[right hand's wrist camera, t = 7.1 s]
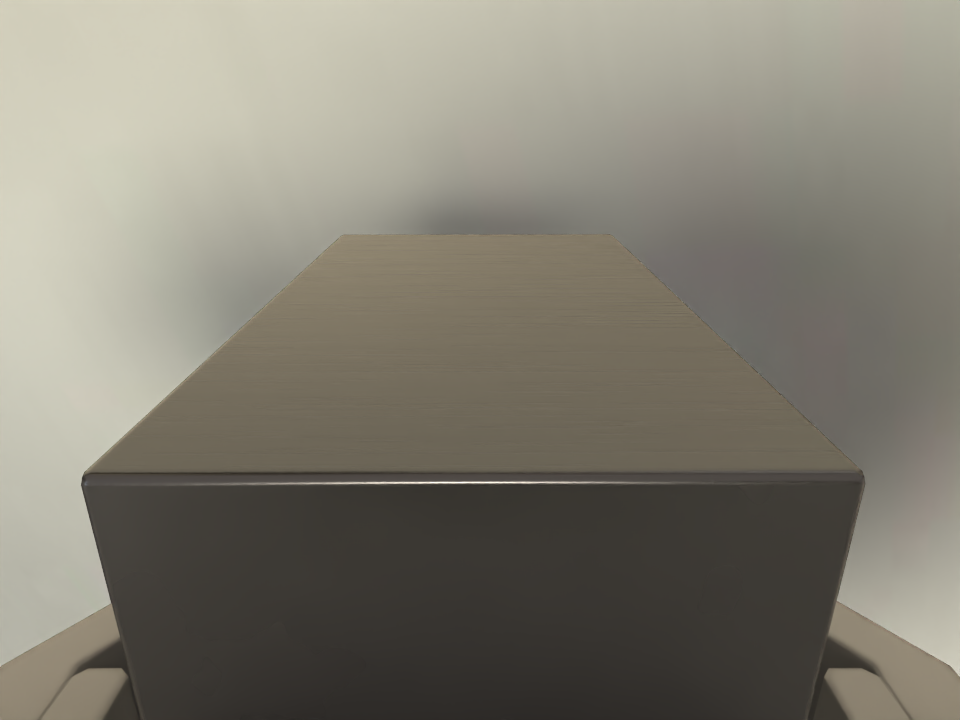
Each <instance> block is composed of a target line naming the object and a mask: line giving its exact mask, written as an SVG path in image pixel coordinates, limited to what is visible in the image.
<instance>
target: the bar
mask: <svg viewBox="0 0 960 720" xmlns="http://www.w3.org/2000/svg"><path fill="white" fill-rule="evenodd" d="M81 486H82V490H83V494H84V498H85V502H86V506H87V510H88V514H89V518H90V522H91V526H92V529H93V533H94V537H95V541H96V545H97V549H98V553H99V557H100V561H101V565H102V568H103V572H104V576H105V580H106V584H107V588H108V592H109V596H110V600H111V604H112V608H113V611H114V615H115V619H116V623H117V627H118V631H119V635H120V639H121V643H122V647H123V650H124V654H125V658H126V662H127V666H128V670H129V674H130V678H131V682H132V686H133V690H134V693H135V697H136V701H137V705H138V709H139V713H140V717H141V720H807V719H808V715H809V711H810V707H811V703H812V699H813V694H814V690H815V686H816V682H817V678H818V674H819V670H820V666H821V662H822V658H823V654H824V650H825V646H826V641H827V637H828V633H829V629H830V625H831V621H832V617H833V613H834V609H835V605H836V601H837V597H838V593H839V589H840V584H841V580H842V576H843V572H844V568H845V564H846V560H847V556H848V552H849V548H850V544H851V540H852V536H853V531H854V527H855V523H856V519H857V515H858V511H859V507H860V503H861V499H862V495H863V491H864V487H865V479H864V475H863V472H862V471H861V470H860V469H859V468H858V467H857V466H856V465H855V464H854V463H853V462H852V461H851V460H850V459H849V458H848V457H847V456H846V455H844V454H843V453H842V452H841V451H840V450H839V449H838V448H837V447H836V446H835V445H834V444H833V443H832V442H831V441H830V440H829V439H828V438H826V437H825V436H824V435H823V434H822V433H821V432H820V431H819V430H818V429H817V428H816V427H815V426H814V425H813V424H812V423H811V422H810V421H808V420H807V419H806V418H805V417H804V416H803V415H802V414H801V413H800V412H799V411H798V410H797V409H796V408H795V407H794V406H793V405H791V404H790V403H789V402H788V401H787V400H786V399H785V398H784V397H783V396H782V395H781V394H780V393H779V392H778V391H777V390H776V389H775V388H773V387H772V386H771V385H770V384H769V383H768V382H767V381H766V380H765V379H764V378H763V377H762V376H761V375H760V374H759V373H758V372H757V371H755V370H754V369H753V368H752V367H751V366H750V365H749V364H748V363H747V362H746V361H745V360H744V359H743V358H742V357H741V356H740V355H739V354H737V353H736V352H735V351H734V350H733V349H732V348H731V347H730V346H729V345H728V344H727V343H726V342H725V341H724V340H723V339H722V338H720V337H719V336H718V335H717V334H716V333H715V332H714V331H713V330H712V329H711V328H710V327H709V326H708V325H707V324H706V323H705V322H704V321H702V320H701V319H700V318H699V317H698V316H697V315H696V314H695V313H694V312H693V311H692V310H691V309H690V308H689V307H688V306H687V305H686V304H684V303H683V302H682V301H681V300H680V299H679V298H678V297H677V296H676V295H675V294H674V293H673V292H672V291H671V290H670V289H669V288H667V287H666V286H665V285H664V284H663V283H662V282H661V281H660V280H659V279H658V278H657V277H656V276H655V275H654V274H653V273H652V272H651V271H649V270H648V269H647V268H646V267H645V266H644V265H643V264H642V263H641V262H640V261H639V260H638V259H637V258H636V257H635V256H634V255H633V254H631V253H630V252H629V251H628V250H627V249H626V248H625V247H624V246H623V245H622V244H621V243H620V242H619V241H618V240H617V239H616V238H615V237H613V236H612V235H610V234H565V235H342V236H341V237H339V238H338V239H337V240H336V241H335V242H334V243H333V244H332V245H331V246H330V247H329V248H328V249H326V250H325V251H324V252H323V253H322V254H321V255H320V256H319V257H318V258H317V259H316V260H314V261H313V262H312V263H311V264H310V265H309V266H308V267H307V268H306V269H305V270H304V271H303V272H301V273H300V274H299V275H298V276H297V277H296V278H295V279H294V280H293V281H292V282H291V283H289V284H288V285H287V286H286V287H285V288H284V289H283V290H282V291H281V292H280V293H279V294H278V295H276V296H275V297H274V298H273V299H272V300H271V301H270V302H269V303H268V304H267V305H266V306H265V307H263V308H262V309H261V310H260V311H259V312H258V313H257V314H256V315H255V316H254V317H253V318H251V319H250V320H249V321H248V322H247V323H246V324H245V325H244V326H243V327H242V328H241V329H240V330H238V331H237V332H236V333H235V334H234V335H233V336H232V337H231V338H230V339H229V340H228V341H226V342H225V343H224V344H223V345H222V346H221V347H220V348H219V349H218V350H217V351H216V352H215V353H213V354H212V355H211V356H210V357H209V358H208V359H207V360H206V361H205V362H204V363H203V364H202V365H200V366H199V367H198V368H197V369H196V370H195V371H194V372H193V373H192V374H191V375H190V376H188V377H187V378H186V379H185V380H184V381H183V382H182V383H181V384H180V385H179V386H178V387H177V388H175V389H174V390H173V391H172V392H171V393H170V394H169V395H168V396H167V397H166V398H165V399H164V400H162V401H161V402H160V403H159V404H158V405H157V406H156V407H155V408H154V409H153V410H152V411H150V412H149V413H148V414H147V415H146V416H145V417H144V418H143V419H142V420H141V421H140V422H139V423H137V424H136V425H135V426H134V427H133V428H132V429H131V430H130V431H129V432H128V433H127V434H125V435H124V436H123V437H122V438H121V439H120V440H119V441H118V442H117V443H116V444H115V445H114V446H112V447H111V448H110V449H109V450H108V451H107V452H106V453H105V454H104V455H103V456H102V457H101V458H99V459H98V460H97V461H96V462H95V463H94V464H93V465H92V466H91V467H90V468H89V469H87V470H86V471H85V472H84V475H83V477H82V483H81Z"/></svg>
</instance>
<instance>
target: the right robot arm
mask: <svg viewBox="0 0 960 720" xmlns="http://www.w3.org/2000/svg"><path fill="white" fill-rule="evenodd" d="M0 720H141V717H140V713H139V709H138V705H137V701H136V697H135V693H134V690H133V686H132V682H131V678H130V674H129V670H128V666H127V662H126V658H125V654H124V650H123V647H122V643H121V639H120V635H119V631H118V627H117V623H116V619H115V615H114V611H113V608H112V604H110V605H108V606H106V607H104V608H103V609H101V610H99V611H97V612H96V613H94V614H92V615H90V616H89V617H87V618H85V619H83V620H81V621H80V622H78V623H76V624H74V625H73V626H71V627H69V628H67V629H66V630H64V631H62V632H60V633H59V634H57V635H55V636H53V637H51V638H50V639H48V640H46V641H44V642H43V643H41V644H39V645H37V646H36V647H34V648H32V649H30V650H29V651H27V652H25V653H23V654H21V655H20V656H18V657H16V658H14V659H13V660H11V661H9V662H7V663H6V664H4V665H2V666H1V667H0ZM807 720H960V677H959V676H958V675H957V673H956V672H955V671H954V670H953V669H952V667H951V666H949V665H947V664H945V663H944V662H942V661H940V660H939V659H937V658H935V657H933V656H932V655H930V654H928V653H926V652H925V651H923V650H921V649H919V648H918V647H916V646H914V645H912V644H911V643H909V642H907V641H905V640H904V639H902V638H900V637H898V636H897V635H895V634H893V633H892V632H890V631H888V630H886V629H885V628H883V627H881V626H879V625H878V624H876V623H874V622H872V621H871V620H869V619H867V618H865V617H864V616H862V615H860V614H858V613H857V612H855V611H853V610H851V609H850V608H848V607H846V606H844V605H843V604H841V603H839V602H838V601H836V605H835V609H834V613H833V617H832V621H831V625H830V629H829V633H828V637H827V641H826V646H825V650H824V654H823V658H822V662H821V666H820V670H819V674H818V678H817V682H816V686H815V690H814V694H813V699H812V703H811V707H810V711H809V715H808V719H807Z"/></svg>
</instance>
